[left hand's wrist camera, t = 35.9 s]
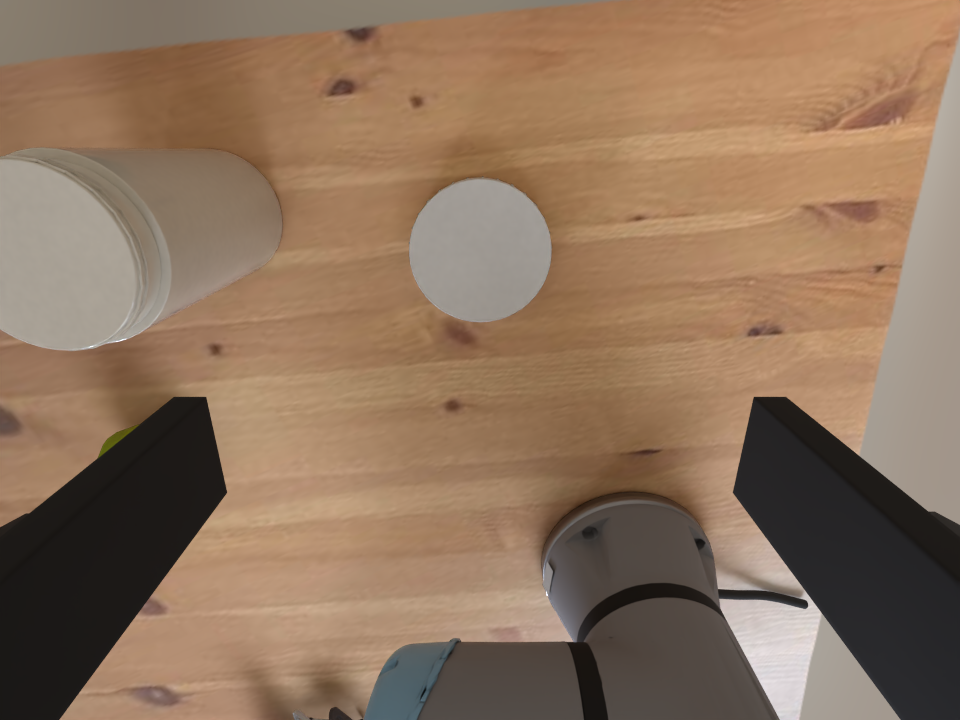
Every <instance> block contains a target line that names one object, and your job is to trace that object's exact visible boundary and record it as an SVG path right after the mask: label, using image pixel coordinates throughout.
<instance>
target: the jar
mask: <svg viewBox="0 0 960 720" xmlns="http://www.w3.org/2000/svg"><path fill="white" fill-rule="evenodd" d="M282 226H283V223H282V214H281V208H280V205H279V202H278V199H277V197H276V195H275V192H274V190H273V189H272V187H271V185H270V184H269V182H268V181H267V180H266V179H265V177H264V176H263V175H262V174H261V173H260V172H259V171H258V170H257V169H256V168H255V167H254V166H253V165H251V164H250V163H249V162H247V161H246V160H244V159H243V158H241V157H239V156H237V155H235V154H232V153H229V152H226V151H222V150H218V149H186V148H49V147H42V148H28V149H24V150H19V151H15V152H13V153H10V154H7V155H5V156H1V157H0V330H2V331H4V332H5V333H7V334H9V335H11V336H13V337H15V338H17V339H19V340H21V341H24V342H26V343H29V344H32V345H36V346H39V347H43V348H48V349H54V350H69V351H77V350H85V349H94V348H97V347H99V346H101V345H104V344H106V343H114V342H119V341H123V340H126V339H129V338H132V337H134V336H136V335H137V334H139V333H141V332H143V331H145V330H147V329H149V328H151V327H152V326H154V325H156V324H158V323H160V322H162V321H164V320H165V319H167V318H169V317H171V316H173V315H175V314H177V313H179V312H180V311H182V310H184V309H186V308H188V307H190V306H192V305H193V304H195V303H197V302H199V301H201V300H203V299H205V298H206V297H208V296H210V295H212V294H214V293H216V292H218V291H220V290H221V289H223V288H225V287H227V286H229V285H231V284H233V283H234V282H236V281H238V280H240V279H242V278H244V277H246V276H247V275H249V274H251V273H253V272H255V271H257V270H259V269H260V268H261V267H263V266H264V265H265V264H266V263H267V262H268V261H269V260H270V259H271V258H272V257H273V255H274V254H275V252H276V250H277V248H278V246H279V243H280V240H281V235H282Z"/></svg>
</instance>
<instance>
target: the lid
mask: <svg viewBox="0 0 960 720" xmlns="http://www.w3.org/2000/svg"><path fill="white" fill-rule="evenodd" d="M526 195H527V194H526V193H525V192H521V191H520V190H519V189H517V188H516V187H514V185H513V184H511V185H510V184H508V183H506V182H503V181H500V180H499V179H498V178H497V179H492V178H484V176H482V178H481V177H478V178H469V177H467V179H464V180H460V181H458V182H455V183H454V182H452V183H451V185H449V186H447V187H445V188H443V189H442V190H441V189H440V190H439V191H438V193H437V194H436V195H435V196H434V197H433V198H432V199H431V200H430V199H429V200H428V201H427V204H426V205H425V206H424V208H423V209H422V210H421V211H420V212H419V213H418V217H417V219H416V221H415V224H414V226H413V227H412V233H411V237H410V242H409V259H410V265H411V268H412V272H413V275H414V278H415V280H416V282H417V284H418V286H419V288H420V289H421V291H422V292H423V294H424V295H425V296H426V297H427V298H428V300H429V301H430V302H431V303H432V304H434V305H435V306H436V307H437V308H439V309H440V310H442V311H443V312H445V313H446V314H448V315H451V316H453V317H455V318H458V319H461V320H465V321H471V322H490V321H495V320H500V319H503V318H505V317H508V316H510V315H512V314H514V313H516V312H518V311H519V310H521V309H522V308H524V307H525V306H526V305H527V304H528V303H529V302H530V301H531V300H532V299H533V298H534V297H535V296H536V295H537V293H538V292H539V290H540V289H541V287H542V285H543V284H544V282H545V280H546V277H547V274H548V272H549V267H550V264H551V254H552V247H551V239H550V232H549V230H548V227H547V224H546V222H545V218H544V216H543V215H542V214H541V212H540V211H539V209H538V208H537V205H536V204H535V203H533V202H532V201H531V200H530V199H529V198H528V197H527V196H526Z"/></svg>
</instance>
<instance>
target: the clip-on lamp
mask: <svg viewBox="0 0 960 720" xmlns="http://www.w3.org/2000/svg"><path fill="white" fill-rule="evenodd" d="M293 716H294V719H295V720H300V718H301V719H302V720H352V719H351V718H349V717H348V716H347V715H346V714H344V713H343V712H342V711H341V710H339V709H338V708H337V707H334V708H331V710H330V713H329V719H314V718H308V717H307V716H306V715H305V714H304V713H303V712H301V711H300V710H299V709H296V710H295V711H294V712H293ZM360 720H363V719H360Z"/></svg>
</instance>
